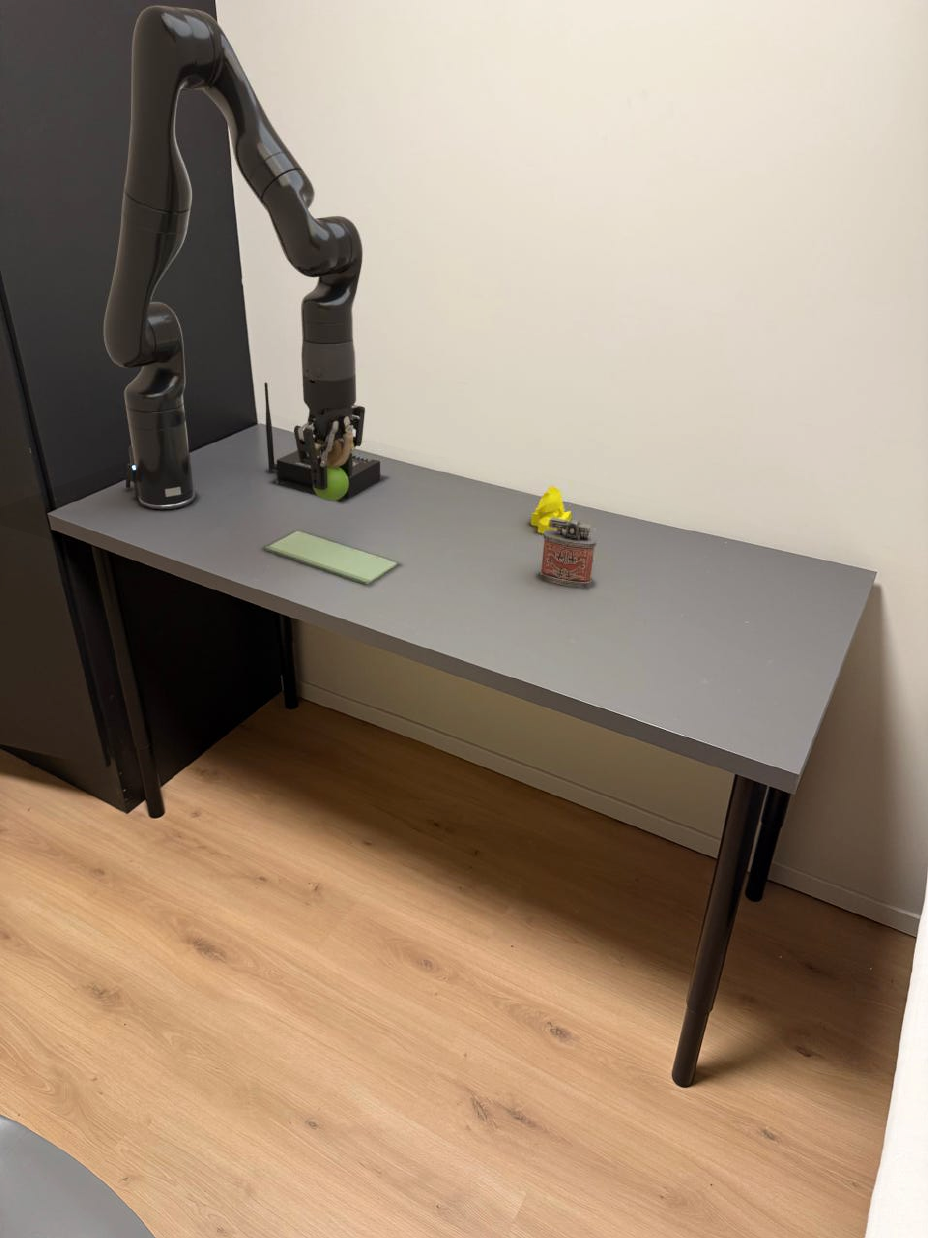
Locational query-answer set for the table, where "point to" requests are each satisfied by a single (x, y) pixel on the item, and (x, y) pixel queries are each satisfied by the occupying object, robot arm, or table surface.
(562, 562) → the lighter
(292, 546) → the front mat
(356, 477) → the wireless controller
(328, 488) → the snail figurine
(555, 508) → the crumpled paper
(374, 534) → the table surface
